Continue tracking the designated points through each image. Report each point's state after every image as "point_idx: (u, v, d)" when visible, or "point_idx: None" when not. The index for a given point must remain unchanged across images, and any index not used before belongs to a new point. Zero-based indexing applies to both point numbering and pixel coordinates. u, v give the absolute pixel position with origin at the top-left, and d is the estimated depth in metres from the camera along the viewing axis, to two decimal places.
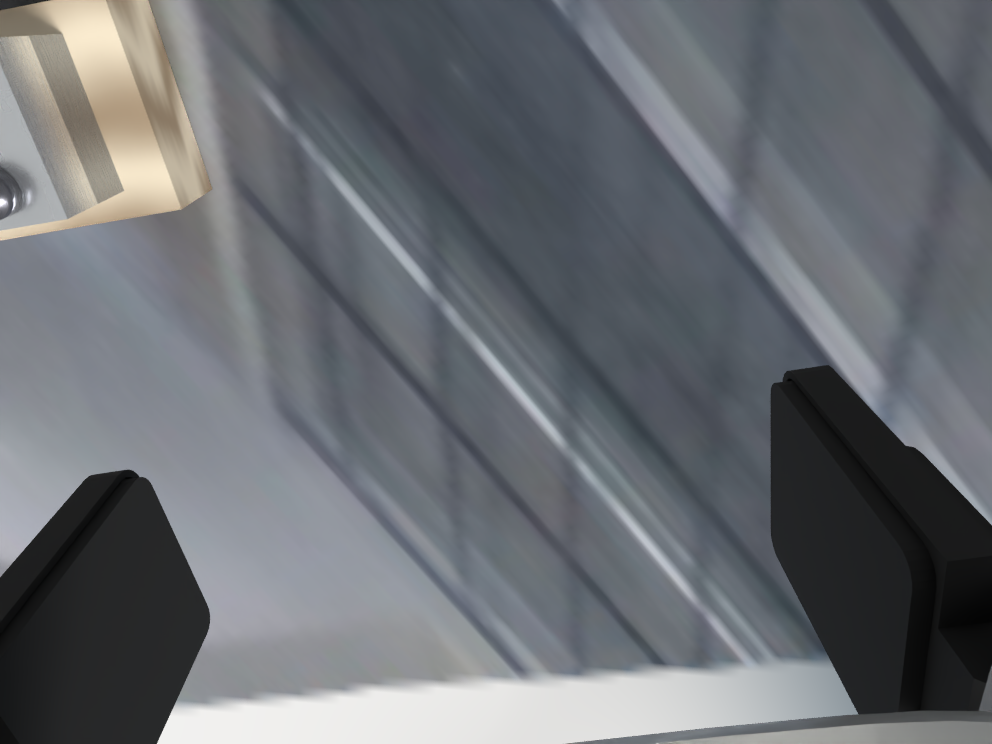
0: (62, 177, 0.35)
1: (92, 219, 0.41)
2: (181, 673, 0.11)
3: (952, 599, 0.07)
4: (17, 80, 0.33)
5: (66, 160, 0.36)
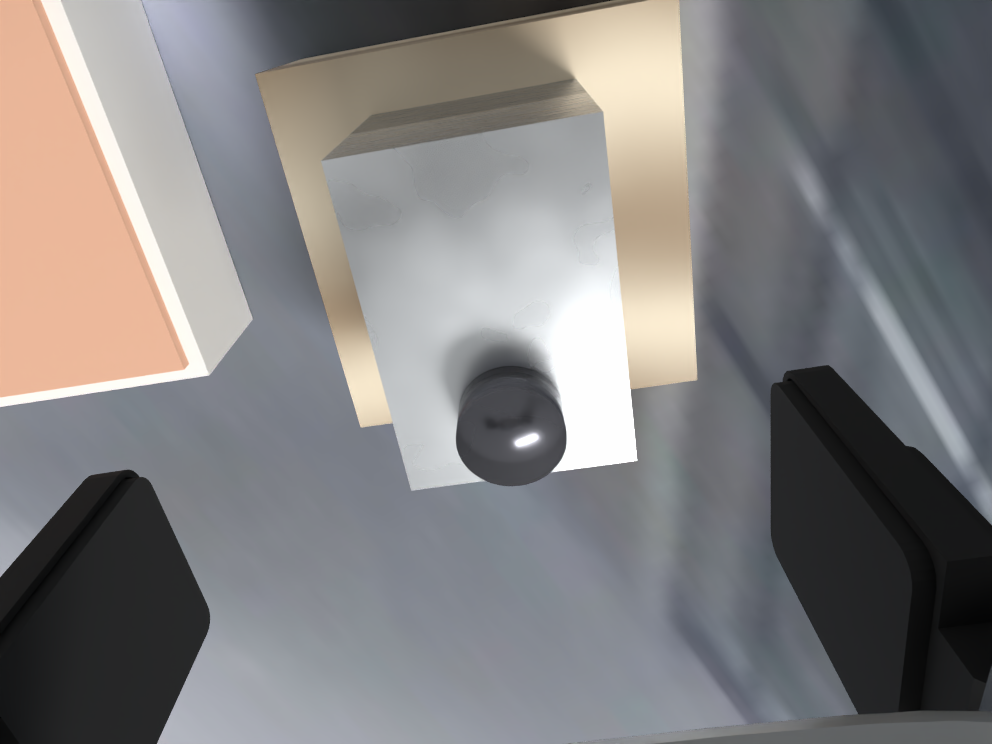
0: None
1: None
2: (181, 673, 0.11)
3: (952, 599, 0.07)
4: None
5: None
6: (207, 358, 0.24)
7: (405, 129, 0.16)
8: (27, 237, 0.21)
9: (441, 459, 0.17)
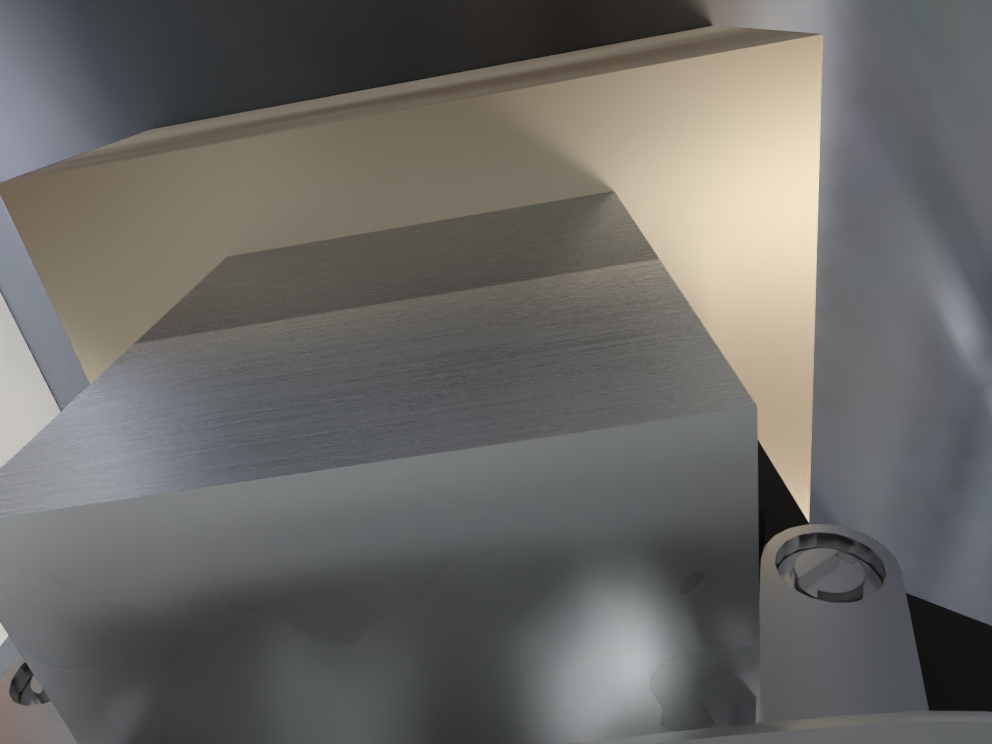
0: None
1: None
2: None
3: None
4: None
5: None
6: None
7: (240, 354, 0.07)
8: None
9: None
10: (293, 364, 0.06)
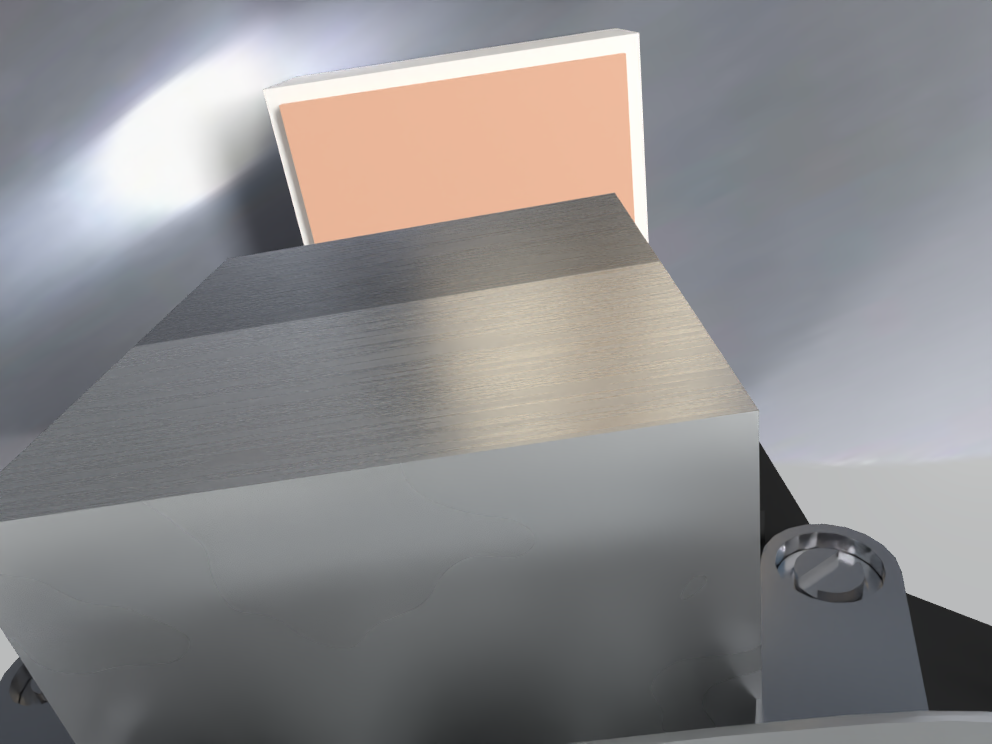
0: None
1: None
2: None
3: None
4: None
5: None
6: (622, 35, 0.23)
7: (240, 358, 0.07)
8: (483, 172, 0.24)
9: None
10: (293, 367, 0.06)
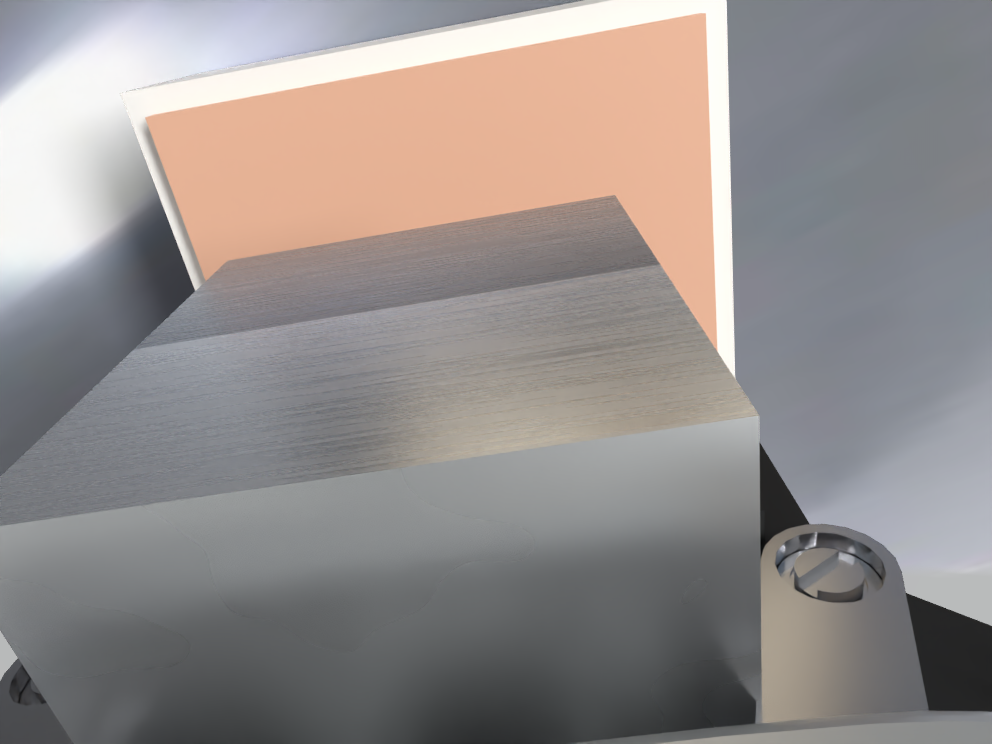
0: None
1: None
2: None
3: None
4: None
5: None
6: None
7: (240, 361, 0.07)
8: (477, 211, 0.15)
9: None
10: (294, 371, 0.06)
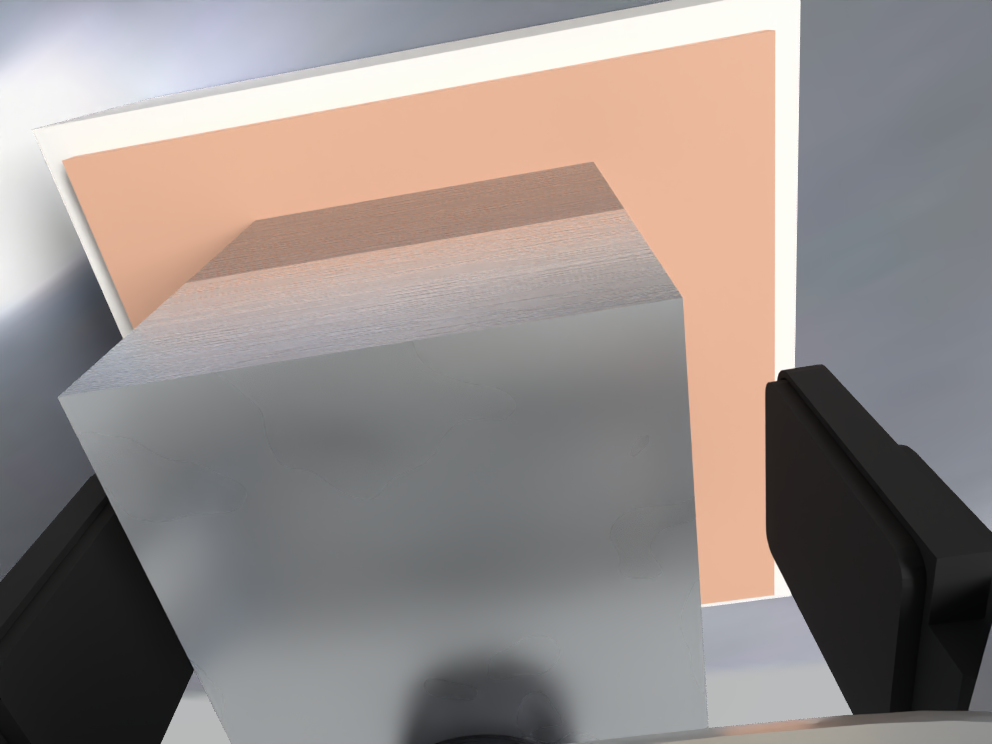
0: None
1: None
2: (186, 670, 0.11)
3: (942, 596, 0.07)
4: None
5: None
6: None
7: (278, 285, 0.08)
8: None
9: None
10: (323, 289, 0.08)
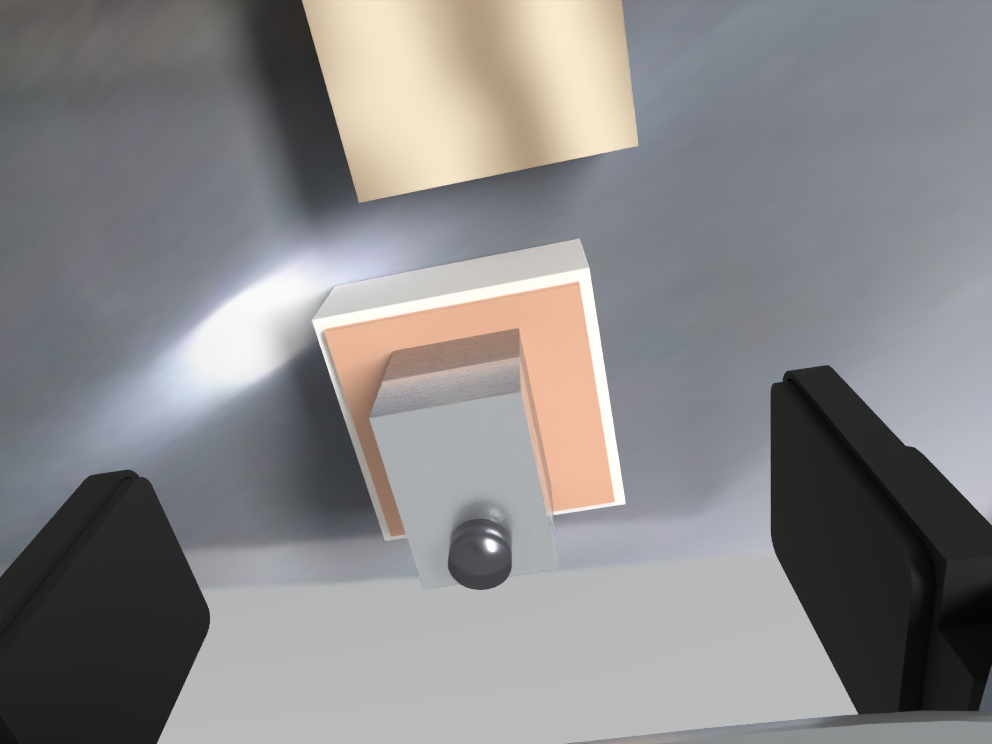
0: (549, 517, 0.29)
1: None
2: (181, 673, 0.11)
3: (952, 599, 0.07)
4: (529, 425, 0.27)
5: (545, 490, 0.29)
6: (577, 267, 0.30)
7: (414, 383, 0.28)
8: None
9: (441, 571, 0.29)
10: (429, 386, 0.27)
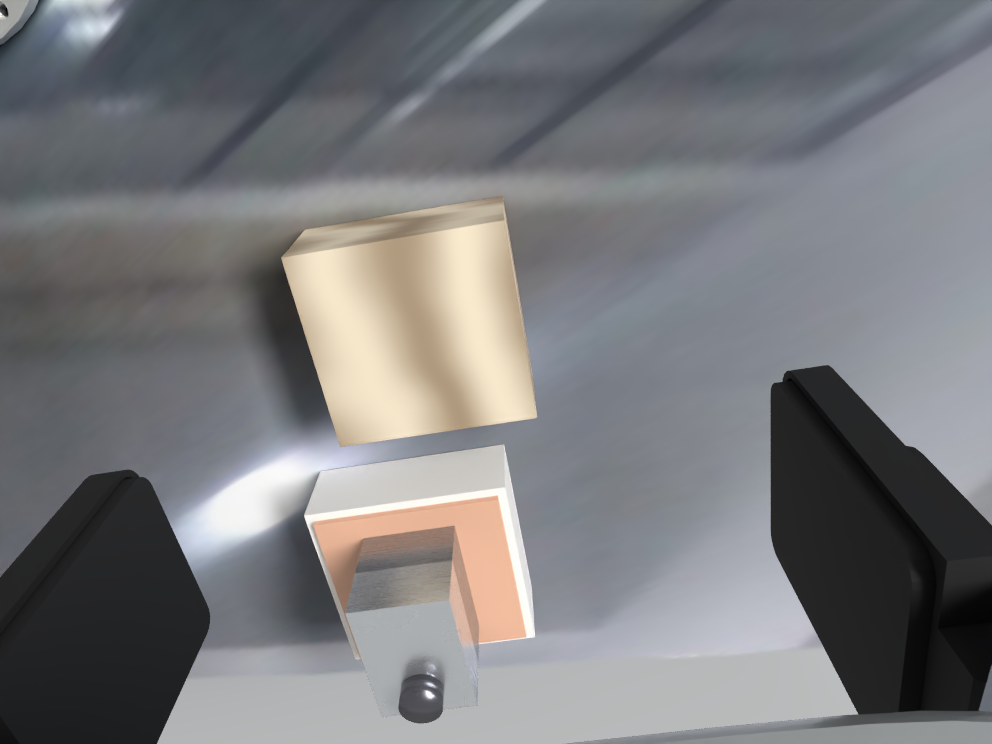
0: (471, 668, 0.41)
1: (515, 319, 0.37)
2: (181, 673, 0.11)
3: (953, 599, 0.07)
4: (456, 614, 0.39)
5: (470, 647, 0.41)
6: (497, 485, 0.42)
7: (377, 579, 0.40)
8: None
9: (394, 706, 0.41)
10: (388, 583, 0.39)
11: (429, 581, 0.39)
